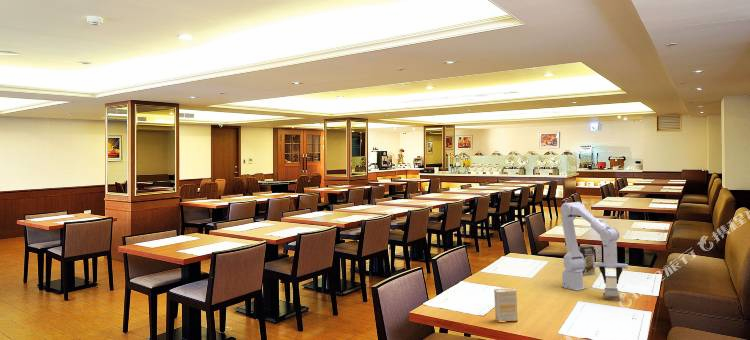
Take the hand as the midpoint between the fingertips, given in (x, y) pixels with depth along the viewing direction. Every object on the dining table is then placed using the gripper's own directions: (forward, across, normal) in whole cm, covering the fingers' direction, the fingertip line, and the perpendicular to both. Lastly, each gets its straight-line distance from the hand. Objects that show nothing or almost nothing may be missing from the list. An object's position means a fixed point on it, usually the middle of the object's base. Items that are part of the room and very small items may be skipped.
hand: (611, 283), depth 230 cm
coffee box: (+8, -11, +49) cm, 51 cm away
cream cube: (+2, 0, 0) cm, 2 cm away
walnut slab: (+8, 0, 0) cm, 8 cm away
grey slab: (+5, 0, 0) cm, 5 cm away
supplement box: (+8, -42, -45) cm, 62 cm away
